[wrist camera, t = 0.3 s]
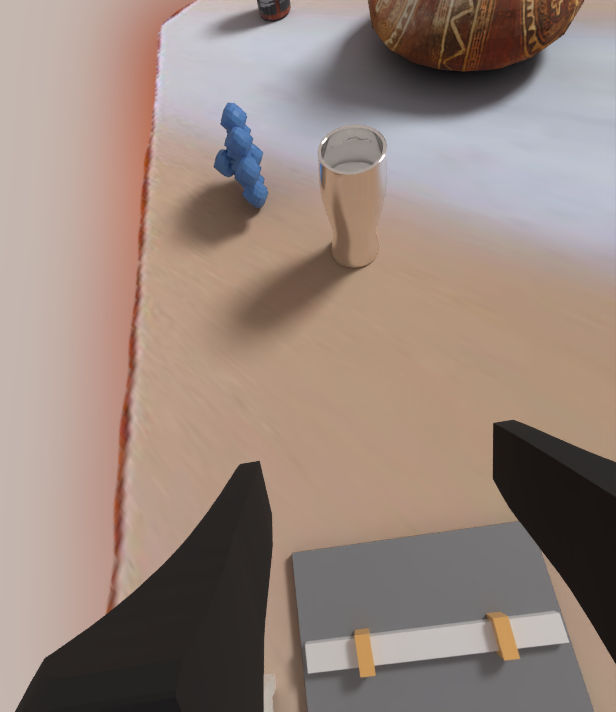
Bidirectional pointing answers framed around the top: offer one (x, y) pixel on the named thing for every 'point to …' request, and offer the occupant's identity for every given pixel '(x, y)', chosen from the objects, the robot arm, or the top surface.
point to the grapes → (241, 156)
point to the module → (269, 691)
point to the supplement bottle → (273, 8)
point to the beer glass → (353, 190)
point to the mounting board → (435, 626)
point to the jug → (470, 30)
